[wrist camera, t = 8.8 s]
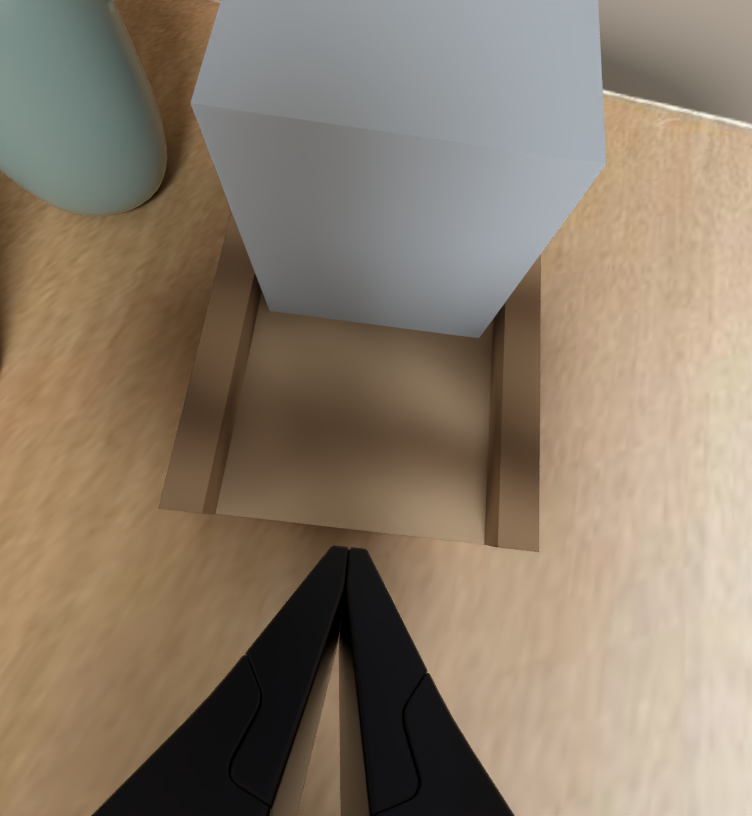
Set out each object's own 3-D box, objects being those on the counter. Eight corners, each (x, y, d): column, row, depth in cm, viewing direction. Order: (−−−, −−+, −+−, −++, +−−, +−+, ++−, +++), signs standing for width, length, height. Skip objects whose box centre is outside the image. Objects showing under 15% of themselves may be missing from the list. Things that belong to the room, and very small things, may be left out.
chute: (514, 547, 18) (546, 553, 15) (183, 509, 17) (150, 508, 15) (522, 150, 24) (546, 99, 21) (274, 113, 23) (264, 56, 20)
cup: (23, 137, 22) (-236, -166, 12) (171, 107, 23) (42, -191, 13) (46, 259, 20) (-234, 19, 10) (205, 220, 21) (85, -28, 12)
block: (478, 338, 20) (606, 164, 10) (269, 311, 19) (190, 103, 10) (485, 184, 22) (594, -77, 12) (299, 158, 22) (260, -133, 12)
